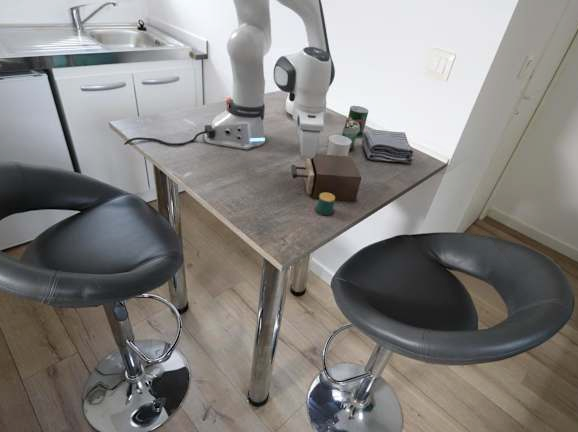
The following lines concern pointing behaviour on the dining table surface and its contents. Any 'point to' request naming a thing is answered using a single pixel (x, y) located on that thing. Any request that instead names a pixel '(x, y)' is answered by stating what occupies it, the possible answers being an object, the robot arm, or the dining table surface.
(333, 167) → the cabinet
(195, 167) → the dining table surface
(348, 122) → the food container
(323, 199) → the tea tin
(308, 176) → the drawer
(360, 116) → the canned tomato
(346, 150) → the white cup
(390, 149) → the towel
